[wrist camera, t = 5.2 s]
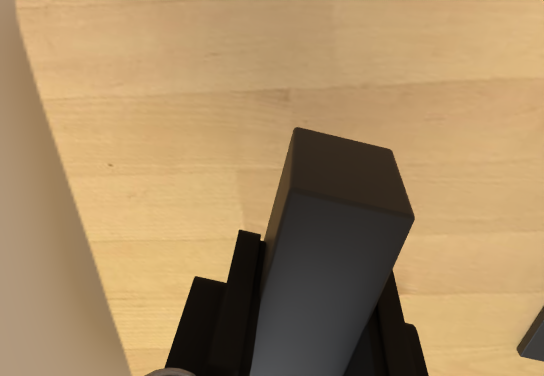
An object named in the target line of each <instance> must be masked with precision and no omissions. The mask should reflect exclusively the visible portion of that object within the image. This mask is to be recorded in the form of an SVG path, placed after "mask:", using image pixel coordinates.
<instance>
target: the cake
mask: <svg viewBox="0 0 544 376" xmlns="http://www.w3.org/2000/svg"><path fill="white" fill-rule="evenodd" d="M517 351H518V353H519V355H520V356H521V357H525V358H530V359H534V360H539V361H544V308H543V309H542V311H541V312H540V314H539V315H538V317H537V319H536V320H535V322H534V323H533V325H532V326H531V328H530V329H529V331H528V333H527V334H526V336H525V337H524V339H523V340H522V342H521V343H520V345H519V347H518V348H517Z"/></svg>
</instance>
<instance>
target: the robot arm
mask: <svg viewBox="0 0 544 376" xmlns="http://www.w3.org/2000/svg"><path fill="white" fill-rule="evenodd" d="M260 238H261V234H257V233H252V232H248V231H243V230H239V233H238V237H237V241H236V246H235V250H234V254H233V258H232V263H231V267H230V271H229V275H228V280H227V283H224V282H220V281H215V280H211V279H206V278H202V277H197V276H195V278H194V280H193V283H192V286H191V289H190V292H189V295H188V298H187V301H186V304H185V307H184V310H183V313H182V316H181V319H180V322H179V325H178V328H177V332H176V335H175V338H174V341H173V344H172V347H171V350H170V353H169V356H168V359H167V362H166V365H165V368H164V369H159V370H155V371H153V372H151V373H149V374H147V375H145V376H250V371H251V366H252V361H253V354H254V346H255V339H256V331H257V324H258V316H259V309H260V301H261V299H259V297H258V295H259V288H260V281H261V274H262V267H263V260H264V253H265V246H266V242H265V241H260ZM345 376H429V375H428V372H427V368H426V364H425V360H424V356H423V352H422V348H421V344H420V340H419V336H418V333H417V330H416V327H415V326H414V325H413V324H408V323H405V321H404V317H403V313H402V308H401V304H400V300H399V295H398V291H397V286H396V282H395V278H394V273H393V269H392V271H391V273H390V275H389V278H388V280H387V282H386V284H385V287H384V289H383V291H382V293H381V296H380V298H379V300H378V302H377V304H376V307H375V309H374V311H373V313H372V316H371V318H370V320H369V322H368V324H367V327H366V329H365V331H364V333H363V336H362V338H361V340H360V342H359V345H358V347H357V349H356V351H355V353H354V356H353V358H352V360H351V362H350V365H349V367H348V369H347V371H346V374H345Z"/></svg>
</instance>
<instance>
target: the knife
mask: <svg viewBox="0 0 544 376" xmlns="http://www.w3.org/2000/svg"><path fill="white" fill-rule="evenodd" d="M414 220H415V217H414V213H413V210H412V208H411V205H410V202H409V199H408V196H407V193H406V190H405V187H404V184H403V181H402V178H401V176H400V173H399V170H398V167H397V164H396V161H395V158H394V155H393V152H392V151H391V150H390V149H387V148H383V147H379V146H374V145H370V144H366V143H362V142H358V141H354V140H349V139H345V138H341V137H337V136H333V135H328V134H324V133H320V132H316V131H312V130H308V129H303V128H299V127H296V128H295V129H294V130H293V134H292V137H291V141H290V145H289V149H288V152H287V156H286V160H285V164H284V167H283V171H282V175H281V179H280V182H279V186H278V190H277V193H276V197H275V201H274V205H273V208H272V212H271V216H270V220H269V223H268V227H267V231H266V235H265V238H264V241H265V242H266V246H265V253H264V260H263V267H262V274H261V281H260V288H259V295H258V297H259V299H261V301H260V309H259V316H258V324H257V331H256V339H255V346H254V354H253V361H252V366H251V371H250V376H345V374H346V371H347V369H348V367H349V365H350V362H351V360H352V358H353V356H354V353H355V351H356V349H357V347H358V345H359V342H360V340H361V338H362V336H363V333H364V331H365V329H366V327H367V324H368V322H369V320H370V318H371V316H372V313H373V311H374V309H375V307H376V304H377V302H378V300H379V298H380V296H381V293H382V291H383V289H384V287H385V284H386V282H387V280H388V278H389V275H390V273H391V271H392V269H393V267H394V264H395V262H396V260H397V258H398V255H399V253H400V251H401V249H402V246H403V244H404V242H405V240H406V238H407V235H408V233H409V231H410V229H411V226H412V224H413V222H414Z"/></svg>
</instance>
